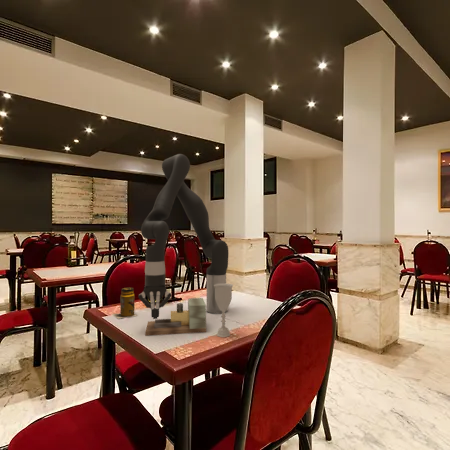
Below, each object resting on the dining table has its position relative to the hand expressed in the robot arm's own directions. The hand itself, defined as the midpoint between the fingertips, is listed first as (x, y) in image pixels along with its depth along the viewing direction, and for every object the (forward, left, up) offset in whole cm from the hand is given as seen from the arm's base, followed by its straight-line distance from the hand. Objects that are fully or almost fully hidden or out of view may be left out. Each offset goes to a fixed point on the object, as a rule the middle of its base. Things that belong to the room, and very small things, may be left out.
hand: (155, 318), depth 117 cm
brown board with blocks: (-8, 0, -4) cm, 9 cm away
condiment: (+14, -22, -5) cm, 27 cm away
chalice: (-25, +10, -5) cm, 27 cm away
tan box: (-11, 0, -3) cm, 11 cm away
